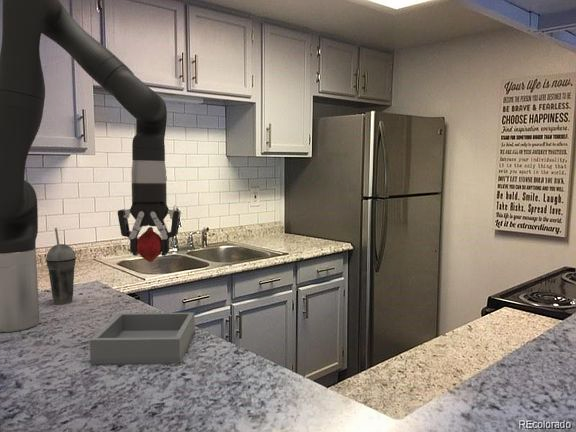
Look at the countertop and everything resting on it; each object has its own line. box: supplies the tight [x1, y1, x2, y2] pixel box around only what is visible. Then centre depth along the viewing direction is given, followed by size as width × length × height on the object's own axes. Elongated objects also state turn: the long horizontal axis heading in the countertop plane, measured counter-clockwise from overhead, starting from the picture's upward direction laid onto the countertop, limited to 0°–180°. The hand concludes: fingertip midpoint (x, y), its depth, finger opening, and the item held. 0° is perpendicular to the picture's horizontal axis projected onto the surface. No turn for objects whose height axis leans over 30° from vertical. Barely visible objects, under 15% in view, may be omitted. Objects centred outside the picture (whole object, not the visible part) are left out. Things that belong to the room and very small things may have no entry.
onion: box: [136, 226, 163, 263], centre depth 107 cm, size 6×6×8 cm
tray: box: [89, 312, 196, 365], centre depth 92 cm, size 16×16×4 cm
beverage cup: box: [45, 227, 77, 306], centre depth 124 cm, size 7×7×20 cm
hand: (150, 254), depth 107 cm, fingers closed on onion, 6 cm apart
